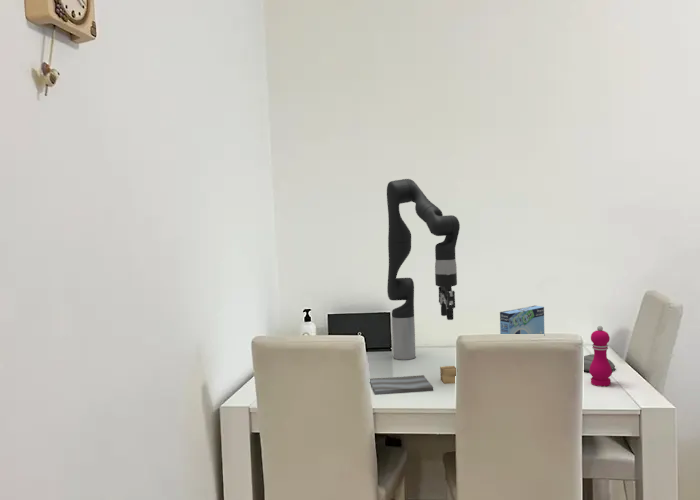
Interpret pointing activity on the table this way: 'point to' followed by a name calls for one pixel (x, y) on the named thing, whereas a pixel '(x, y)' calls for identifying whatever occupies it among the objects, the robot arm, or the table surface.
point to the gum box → (522, 321)
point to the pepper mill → (600, 358)
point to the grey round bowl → (588, 361)
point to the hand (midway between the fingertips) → (447, 317)
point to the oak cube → (448, 374)
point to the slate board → (400, 384)
